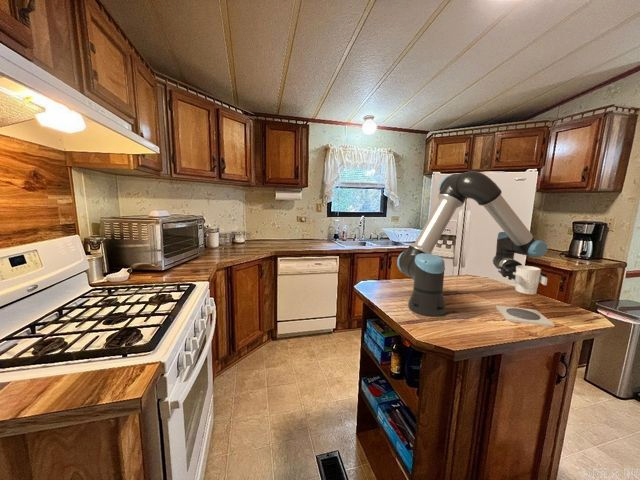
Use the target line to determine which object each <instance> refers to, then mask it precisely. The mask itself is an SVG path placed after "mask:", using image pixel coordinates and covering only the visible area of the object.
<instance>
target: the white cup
mask: <svg viewBox="0 0 640 480" xmlns="http://www.w3.org/2000/svg"><path fill="white" fill-rule="evenodd" d="M540 272H542V268H539V267H537V266H530V265H523V266H516V273H517V274H518V275H520V276H521V283H518V282H516V281H515V280H514V281H515V288H514V289H515V291H516V292H517V293H520V294H524V295H525V294H526V295H536V294H537V291H538V287H539V284H540V282H539V278H540Z"/></svg>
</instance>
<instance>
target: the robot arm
mask: <svg viewBox="0 0 640 480" xmlns="http://www.w3.org/2000/svg"><path fill="white" fill-rule="evenodd" d="M438 190H439V191H438V195H437V198H438V202H437V204H436V205H435V207H434V209H433V210H432V212H431V214H430V216H429V217H428V219H427V221H426V222H425V224H424V225H423V228H422V230H421V231H420V233H419V235H418V237H417V238H416V240H415V242H414V243H413V244H409V246H408V247H407V250H404V251H402V252H401V253H400V254H399V255H398V257H397V261H396V265H397V269H398V270H399V272H401V273H402V274H403V275H405V276H406V277H408V278H410V279H412V280H413V290H412V292H411V294H410V297H409V299H408V304H407V305H408V306H407V307H409V308H408V309H409V310H410V311H411V310H412V311H411V312H413V313H416V314H418V315H423V316H426V317H427V316H428V317H441V316H444V315H445V314H446V313H447V306H446V303H445V302H446V301H445V299H444V295H443V291H444V280H445V279H444V278H445V271H446V268H445V267H446V266H445V265H446V264H445V260H444V259H443V258H442V257H441V256H439V255H436V254H433V253H432V252H433V250H434V248H435V246H437V243H438V242H439V240H440V238H441V237H442V234H443V233H444V231H445V230H446V228H447V226H448V225H449V222H450V221H451V219H452V217H453V215H454V214H455V212H456V210H457V208H461V207H463V205H464V203H465V201H466V200H467V199H470V200H474V201H475V203H477V204H478V205H479V206H483V207H484V209H485V210H486V211H487V212H488V214H490V216H491V217H492V219H493V220H494V221H495V223H496V224H498V226H499V227H500V228H501V229H502V231H499V232H498V233H497V239H496V250H495V256H494V257H493V258H492V264H493V265H494V267H495V268H496V269H498V270H497V271H498V273H500V274H501V276H502V277H503V278H507V277H508V278H507V280H509V281H510V280H514V281H516V282H518V283H521V276H520V275H518V274H517V273H516V266H524V265H523V264H522V263H521V262H519V261H517V260H516V259H515V254H519V255H522V256H525V257H526V256H527V257H531V258H542V257H544V256H545V254H547V252H548V244H547V243H546V242H545V241H543V240H540V239H536V238H535V236H533V234H532V233H531V231H530V230H529V228H527V226H526V225H525V224H524V223H523V221H522V220H521V219H520V218H519V216H518V214H516V212H515V211H514V209H512V207H511V206H510V205H509V204H508V203H509V202H508V201H507V200H506V199H505V198H504V197H503V196H502V194H503V193H502V189H501V188H500V186H498V185H497V183H496V182H494V181H493V180H492V179H491V178H490V177H489V176H487V175H486V174H484V173H482V172H480V171H476V170H470V171H466V172H460V173H452V174H450V175H447V176H445V177H444V178H443V179H442V180H441V181H440V183H439V186H438ZM539 284H542V285H543V286H547V285H548V277H547V274H546V273H545V272H542V271H541V272H540V278H539Z"/></svg>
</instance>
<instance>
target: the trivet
mask: <svg viewBox="0 0 640 480" xmlns="http://www.w3.org/2000/svg"><path fill="white" fill-rule="evenodd" d="M495 308H496V309H497V311H498V312H499V313H500V314H501V315H502V317H504V318H505V320H506V321H507V322H512V323H513V322H515V323H521V324H531V325H536V326H537V325H538V326H546V327H555V324H554V323H553V322H552V321H551V320H550V319H548V318H547V317H546V316H544V315H543V314H542V313H540V311H538V310H537V309H533V308H532V309H531V308H521V307H513V306H507V305H506V306H505V305H497V304H496V305H495Z"/></svg>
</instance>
